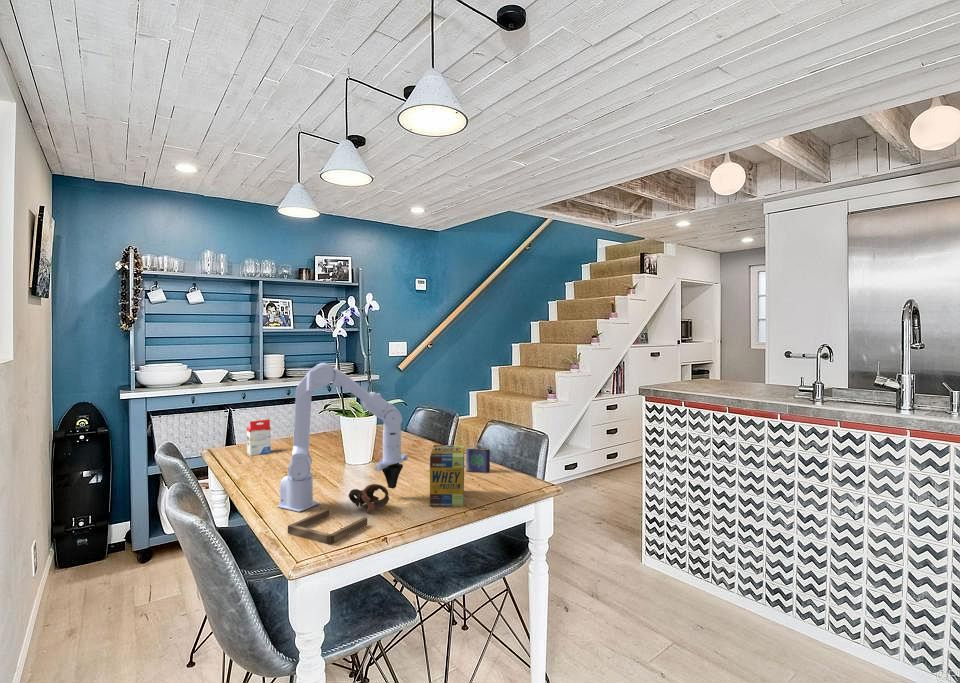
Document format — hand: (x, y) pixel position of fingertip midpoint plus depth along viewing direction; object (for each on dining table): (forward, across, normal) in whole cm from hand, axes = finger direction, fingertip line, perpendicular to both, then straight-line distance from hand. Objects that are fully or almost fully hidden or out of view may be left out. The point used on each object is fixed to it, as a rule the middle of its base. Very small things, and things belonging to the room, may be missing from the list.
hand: (392, 487), depth 158 cm
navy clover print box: (+4, +39, -11) cm, 41 cm away
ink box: (+3, +19, +85) cm, 87 cm away
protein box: (+4, +8, -16) cm, 18 cm away
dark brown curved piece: (+4, -11, 0) cm, 12 cm away
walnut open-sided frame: (+3, -28, 0) cm, 28 cm away
